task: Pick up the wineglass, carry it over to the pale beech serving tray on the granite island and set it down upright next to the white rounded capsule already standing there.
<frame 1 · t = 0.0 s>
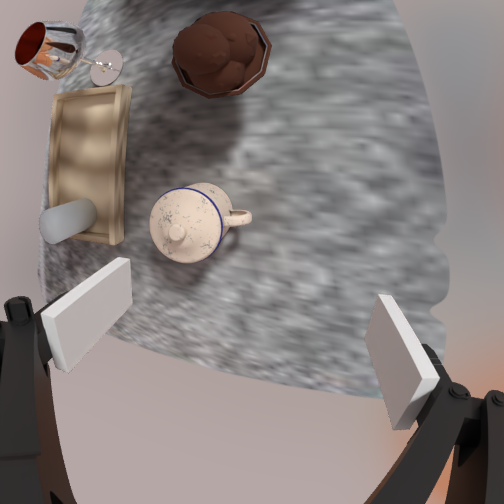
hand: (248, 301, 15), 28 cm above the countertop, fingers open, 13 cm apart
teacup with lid: (213, 211, 43), on the countertop
tray: (89, 163, 43), on the countertop
wineglass: (107, 67, 37), on the countertop
ice cream bowl: (234, 73, 37), on the countertop
white rounded capsule: (85, 213, 44), point 1 cm above the countertop, touching tray
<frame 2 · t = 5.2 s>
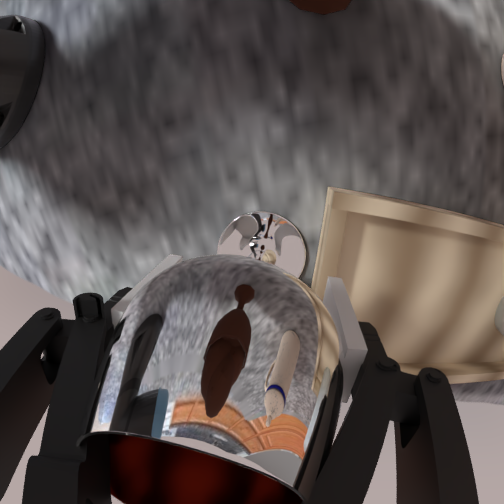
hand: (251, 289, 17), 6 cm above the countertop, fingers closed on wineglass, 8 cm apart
tray: (447, 297, 21), on the countertop
wineglass: (261, 254, 22), on the countertop, touching gripper
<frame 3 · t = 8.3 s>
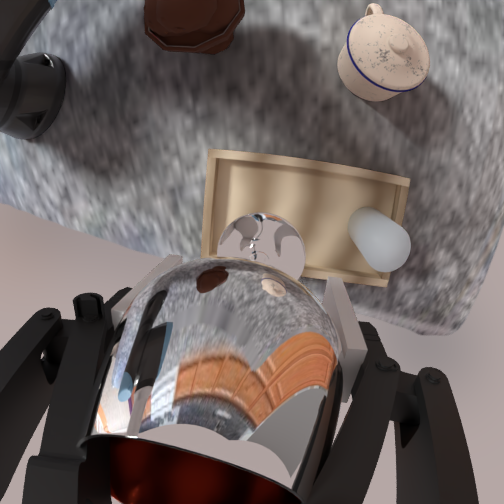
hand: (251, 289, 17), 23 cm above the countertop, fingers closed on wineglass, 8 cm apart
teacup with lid: (368, 60, 31), on the countertop
tray: (303, 215, 38), on the countertop
wineglass: (260, 255, 22), point 17 cm above the countertop, touching gripper
ice cream bowl: (213, 37, 32), on the countertop
white rounded capsule: (366, 226, 36), point 1 cm above the countertop, touching tray
when the fingers open (8 cm above the countertop, at t = 11.7 s): wineglass stays where it is, resting on tray.
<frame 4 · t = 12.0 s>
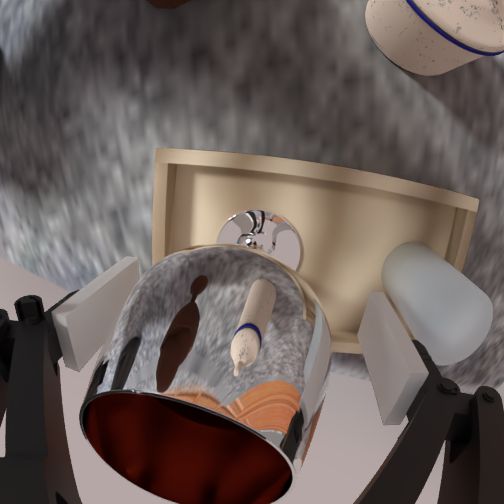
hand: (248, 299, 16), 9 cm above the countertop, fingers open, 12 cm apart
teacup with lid: (409, 17, 17), on the countertop
tray: (313, 253, 24), on the countertop
wineglass: (257, 250, 23), point 1 cm above the countertop, touching tray
white rounded capsule: (409, 271, 22), point 1 cm above the countertop, touching tray
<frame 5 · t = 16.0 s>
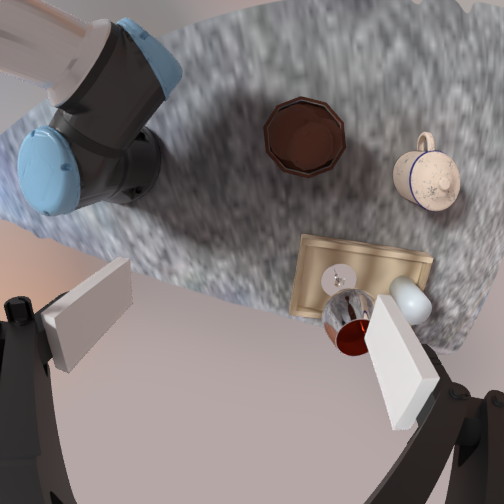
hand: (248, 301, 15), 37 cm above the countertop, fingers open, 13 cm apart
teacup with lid: (414, 167, 45), on the countertop
tray: (360, 280, 53), on the countertop
wineglass: (338, 280, 52), point 1 cm above the countertop, touching tray
ice cream bowl: (301, 140, 47), on the countertop
white rounded capsule: (401, 287, 51), point 1 cm above the countertop, touching tray
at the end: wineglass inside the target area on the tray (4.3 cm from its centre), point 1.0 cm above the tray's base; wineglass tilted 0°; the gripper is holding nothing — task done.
